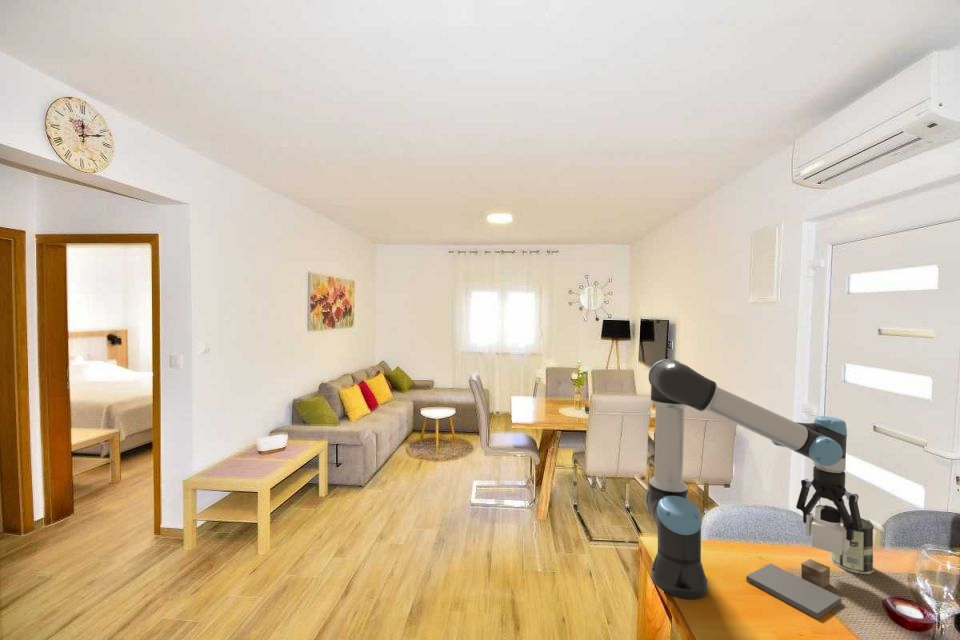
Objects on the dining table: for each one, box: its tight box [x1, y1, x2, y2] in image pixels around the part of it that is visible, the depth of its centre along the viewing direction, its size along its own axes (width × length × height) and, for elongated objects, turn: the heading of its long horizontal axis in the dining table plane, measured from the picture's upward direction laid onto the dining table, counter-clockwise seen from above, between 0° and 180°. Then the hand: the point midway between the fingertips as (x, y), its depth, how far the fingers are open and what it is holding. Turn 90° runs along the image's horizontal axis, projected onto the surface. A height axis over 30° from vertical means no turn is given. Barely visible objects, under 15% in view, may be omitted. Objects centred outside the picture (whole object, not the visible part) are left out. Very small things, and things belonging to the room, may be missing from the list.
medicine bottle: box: [810, 504, 844, 555], centre depth 128 cm, size 7×7×12 cm
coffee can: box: [830, 514, 875, 575], centre depth 133 cm, size 10×10×14 cm
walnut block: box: [800, 558, 831, 589], centre depth 124 cm, size 5×5×5 cm
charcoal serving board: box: [745, 563, 842, 620], centre depth 120 cm, size 18×13×2 cm
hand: (826, 541), depth 128 cm, fingers closed on medicine bottle, 8 cm apart
